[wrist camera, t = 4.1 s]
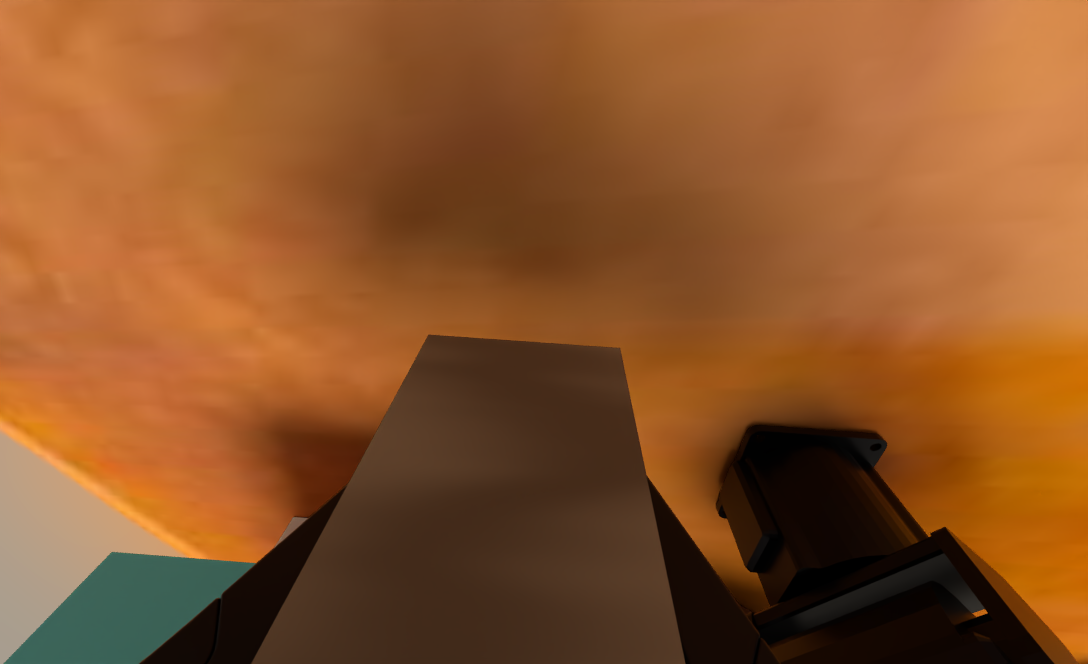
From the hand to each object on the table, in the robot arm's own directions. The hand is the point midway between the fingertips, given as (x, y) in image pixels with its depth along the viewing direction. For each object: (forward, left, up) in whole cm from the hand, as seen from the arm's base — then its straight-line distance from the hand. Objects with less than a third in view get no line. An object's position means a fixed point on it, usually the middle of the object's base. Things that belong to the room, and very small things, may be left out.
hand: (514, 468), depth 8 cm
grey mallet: (0, +6, -2) cm, 7 cm away
